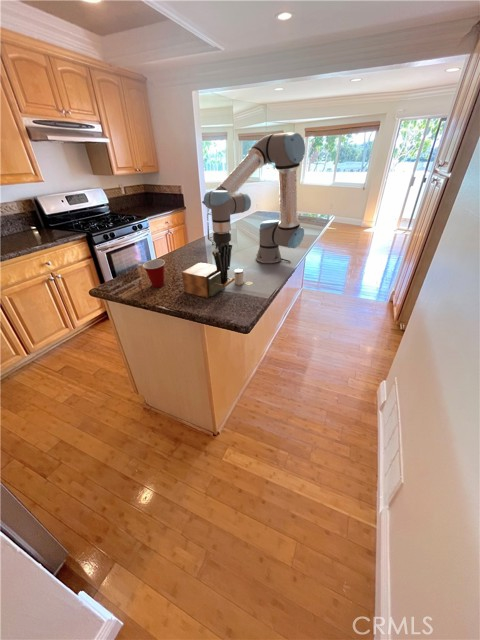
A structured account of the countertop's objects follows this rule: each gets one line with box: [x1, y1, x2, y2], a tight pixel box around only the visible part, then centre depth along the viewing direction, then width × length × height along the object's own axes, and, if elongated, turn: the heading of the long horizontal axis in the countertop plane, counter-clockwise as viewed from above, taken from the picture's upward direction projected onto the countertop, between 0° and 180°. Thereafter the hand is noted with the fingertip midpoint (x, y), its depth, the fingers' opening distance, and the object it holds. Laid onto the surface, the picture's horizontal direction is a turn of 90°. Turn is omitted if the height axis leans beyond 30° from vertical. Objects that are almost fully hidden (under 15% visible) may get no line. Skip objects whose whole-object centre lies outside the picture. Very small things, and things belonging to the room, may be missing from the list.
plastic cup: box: [142, 258, 166, 288], centre depth 134 cm, size 11×11×12 cm
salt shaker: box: [233, 268, 244, 286], centre depth 136 cm, size 4×4×7 cm
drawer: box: [206, 271, 235, 297], centre depth 127 cm, size 18×13×9 cm
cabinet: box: [181, 262, 217, 299], centre depth 129 cm, size 13×14×10 cm
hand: (224, 283), depth 124 cm, fingers closed
